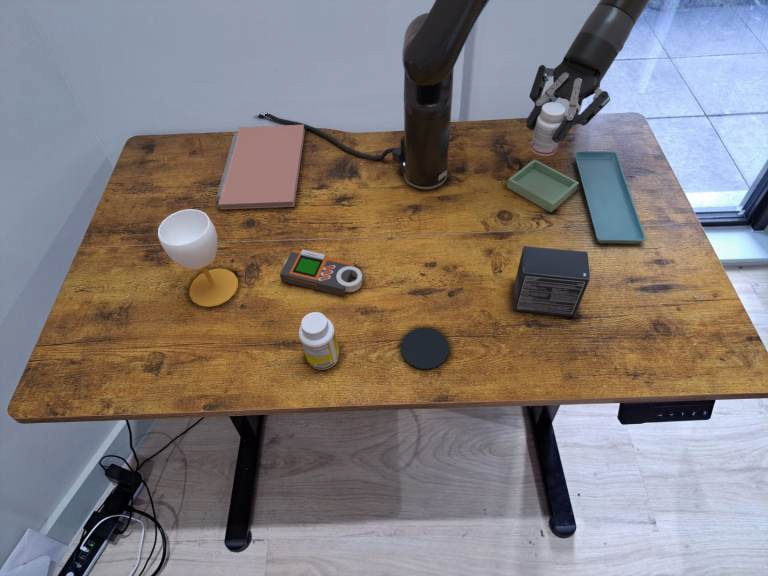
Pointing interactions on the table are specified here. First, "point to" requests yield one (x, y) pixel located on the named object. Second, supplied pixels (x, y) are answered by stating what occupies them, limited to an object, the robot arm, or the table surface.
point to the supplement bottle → (319, 341)
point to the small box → (551, 281)
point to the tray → (542, 185)
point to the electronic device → (320, 272)
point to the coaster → (425, 348)
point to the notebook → (262, 168)
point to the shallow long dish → (609, 198)
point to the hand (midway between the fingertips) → (542, 134)
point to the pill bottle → (547, 128)
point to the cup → (197, 255)
